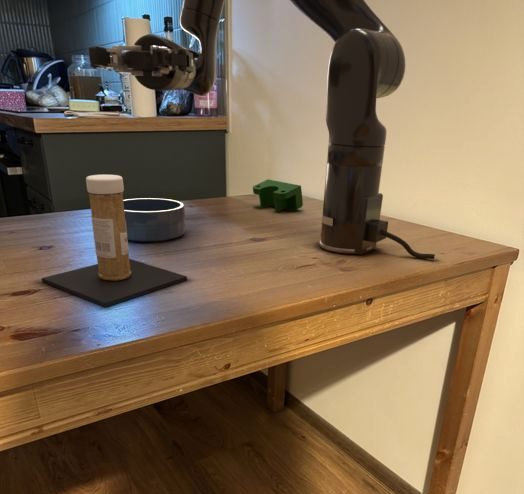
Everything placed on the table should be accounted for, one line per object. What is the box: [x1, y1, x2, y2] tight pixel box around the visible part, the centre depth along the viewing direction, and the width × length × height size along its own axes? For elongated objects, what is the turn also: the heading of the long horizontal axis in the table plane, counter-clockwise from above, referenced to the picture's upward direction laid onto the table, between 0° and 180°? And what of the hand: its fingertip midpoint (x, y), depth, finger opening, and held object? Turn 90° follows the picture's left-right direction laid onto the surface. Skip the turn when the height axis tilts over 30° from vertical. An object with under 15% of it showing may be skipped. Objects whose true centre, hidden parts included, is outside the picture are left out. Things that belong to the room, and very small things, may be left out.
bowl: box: [123, 197, 186, 243], centre depth 93 cm, size 13×13×6 cm
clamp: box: [252, 179, 304, 213], centre depth 119 cm, size 12×6×9 cm, turn 37°
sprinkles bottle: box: [85, 174, 131, 281], centre depth 67 cm, size 5×5×14 cm
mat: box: [41, 258, 188, 308], centre depth 70 cm, size 14×14×1 cm
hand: (124, 56), depth 66 cm, fingers open, 8 cm apart
